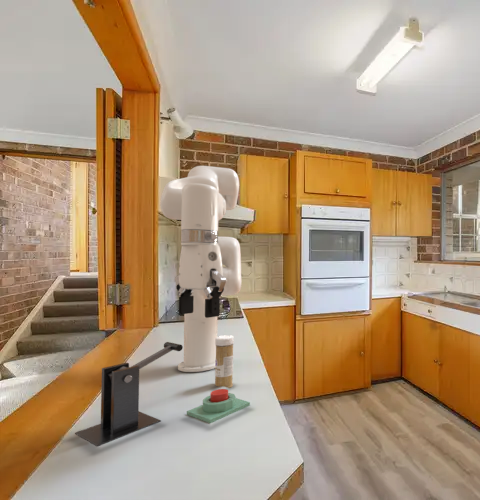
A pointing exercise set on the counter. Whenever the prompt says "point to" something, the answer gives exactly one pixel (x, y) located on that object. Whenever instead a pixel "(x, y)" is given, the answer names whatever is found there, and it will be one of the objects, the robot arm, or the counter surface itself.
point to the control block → (217, 408)
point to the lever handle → (155, 356)
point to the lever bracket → (118, 406)
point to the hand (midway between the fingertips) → (198, 315)
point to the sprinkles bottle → (224, 361)
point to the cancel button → (219, 395)
